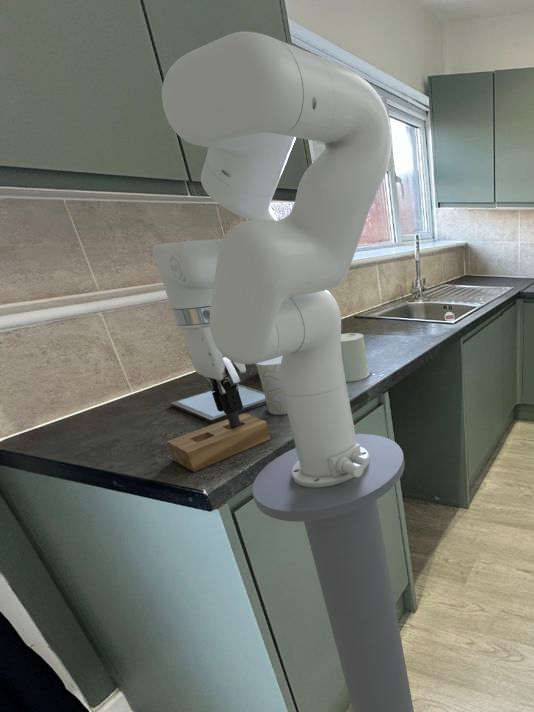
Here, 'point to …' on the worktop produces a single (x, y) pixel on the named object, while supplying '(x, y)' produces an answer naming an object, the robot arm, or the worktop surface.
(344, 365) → the pale green tapered cylinder
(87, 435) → the worktop surface
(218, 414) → the tablet
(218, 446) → the holder
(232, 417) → the stylus
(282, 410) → the cup
